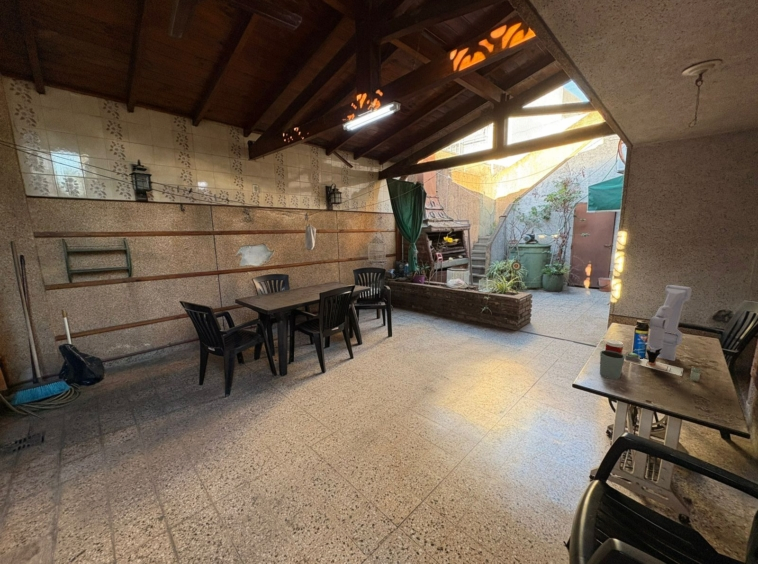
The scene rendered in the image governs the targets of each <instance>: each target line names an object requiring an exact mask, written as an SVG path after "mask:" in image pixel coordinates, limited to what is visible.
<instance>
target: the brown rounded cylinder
mask: <svg viewBox="0 0 758 564" xmlns="http://www.w3.org/2000/svg"><path fill="white" fill-rule="evenodd" d="M647 360H648V359H647ZM657 360H658V357H657V358H656V360H655V362H654V363H650V362H649V360H648V364H649V365H652V366H656V362H657Z"/></svg>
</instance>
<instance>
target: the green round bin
mask: <svg viewBox="0 0 758 564" xmlns="http://www.w3.org/2000/svg"><path fill="white" fill-rule="evenodd" d="M599 356H600V360H599V363H600V365H599V374H600V375H601V376H602V377H604V378H607V379H610V380H620V378H621V376H622V370H623V366H624V362H625V361H624V359H625V356H626V355H624V354H620V353H618V352H614V351H606V350H600V353H599Z"/></svg>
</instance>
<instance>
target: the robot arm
mask: <svg viewBox="0 0 758 564" xmlns="http://www.w3.org/2000/svg"><path fill="white" fill-rule="evenodd" d="M692 291H693V289H692V287H691V286H685V285H684V286H682V285H673V284H667V285H666V286H665V288H664V295H665V300H664V303H663V305H661V306H659V308H658V309H657V311H656V313H654V314H655V315H654V316H651V318H650V319H649V329H650V331H649V337H648V342H645V344H644V345H645V346H648V349H645V352H646V353H647V360H649V362H650V363H654V362H655V360H656V358H657V359H658V358H660V359H664V360H668V361H672V362H673V361H674V362H675V361H676V358H677V357H676V353H677V347H678V346H681V344H682V341H683V335H684V334H683V332H682V331H680V330H679V328H678V327H679V325H680V321H681V320H680V319H681V315H682V312H683V307H684V305H685V302H690V299H691V297H692ZM656 361H657V360H656Z"/></svg>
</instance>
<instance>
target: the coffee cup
mask: <svg viewBox="0 0 758 564" xmlns="http://www.w3.org/2000/svg"><path fill="white" fill-rule="evenodd" d="M624 347H625V345H624V343H623V342H622V341H620V340H618V339H617V340H616V339H606V340H605V350H606V351H614V352H618V353H620V354H622V353H623V349H624ZM605 350H604V351H605ZM622 355H623V354H622Z"/></svg>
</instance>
